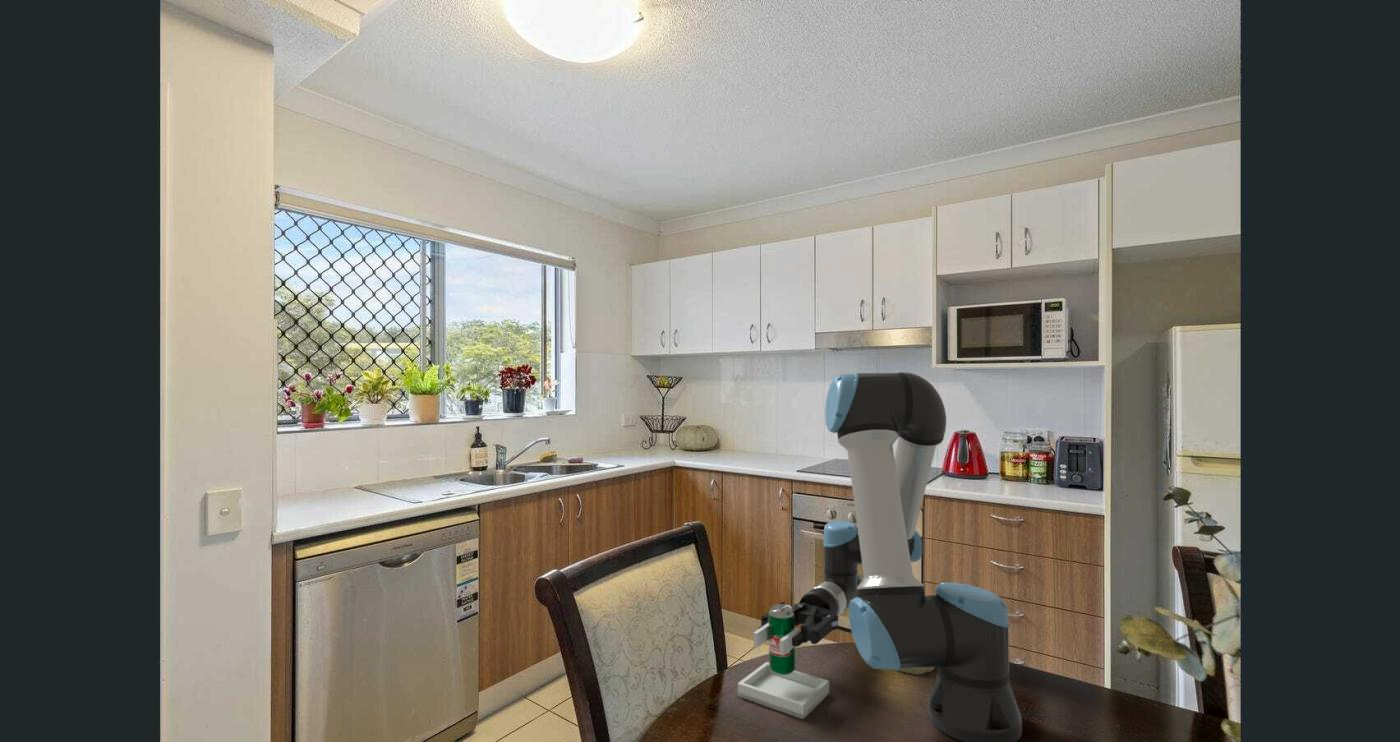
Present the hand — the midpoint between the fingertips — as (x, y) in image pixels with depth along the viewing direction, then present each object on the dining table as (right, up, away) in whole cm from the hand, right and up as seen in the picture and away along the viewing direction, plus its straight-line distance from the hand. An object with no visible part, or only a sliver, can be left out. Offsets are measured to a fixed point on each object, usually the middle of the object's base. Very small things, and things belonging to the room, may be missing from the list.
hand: (768, 643), depth 115 cm
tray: (+3, -12, +4) cm, 13 cm away
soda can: (+3, -7, +4) cm, 9 cm away
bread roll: (+32, -12, +15) cm, 38 cm away
